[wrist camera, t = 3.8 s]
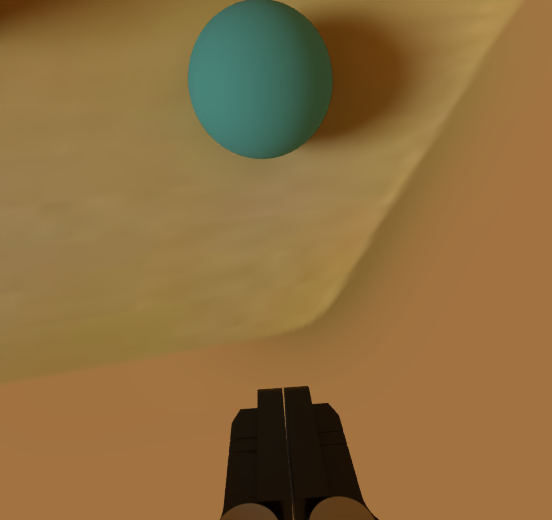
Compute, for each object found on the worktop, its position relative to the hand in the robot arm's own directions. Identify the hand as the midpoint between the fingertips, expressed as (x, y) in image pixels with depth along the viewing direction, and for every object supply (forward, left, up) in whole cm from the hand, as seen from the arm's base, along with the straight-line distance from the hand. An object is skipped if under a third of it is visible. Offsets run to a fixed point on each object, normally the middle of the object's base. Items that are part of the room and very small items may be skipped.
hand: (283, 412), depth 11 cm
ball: (-10, 0, -7) cm, 12 cm away
